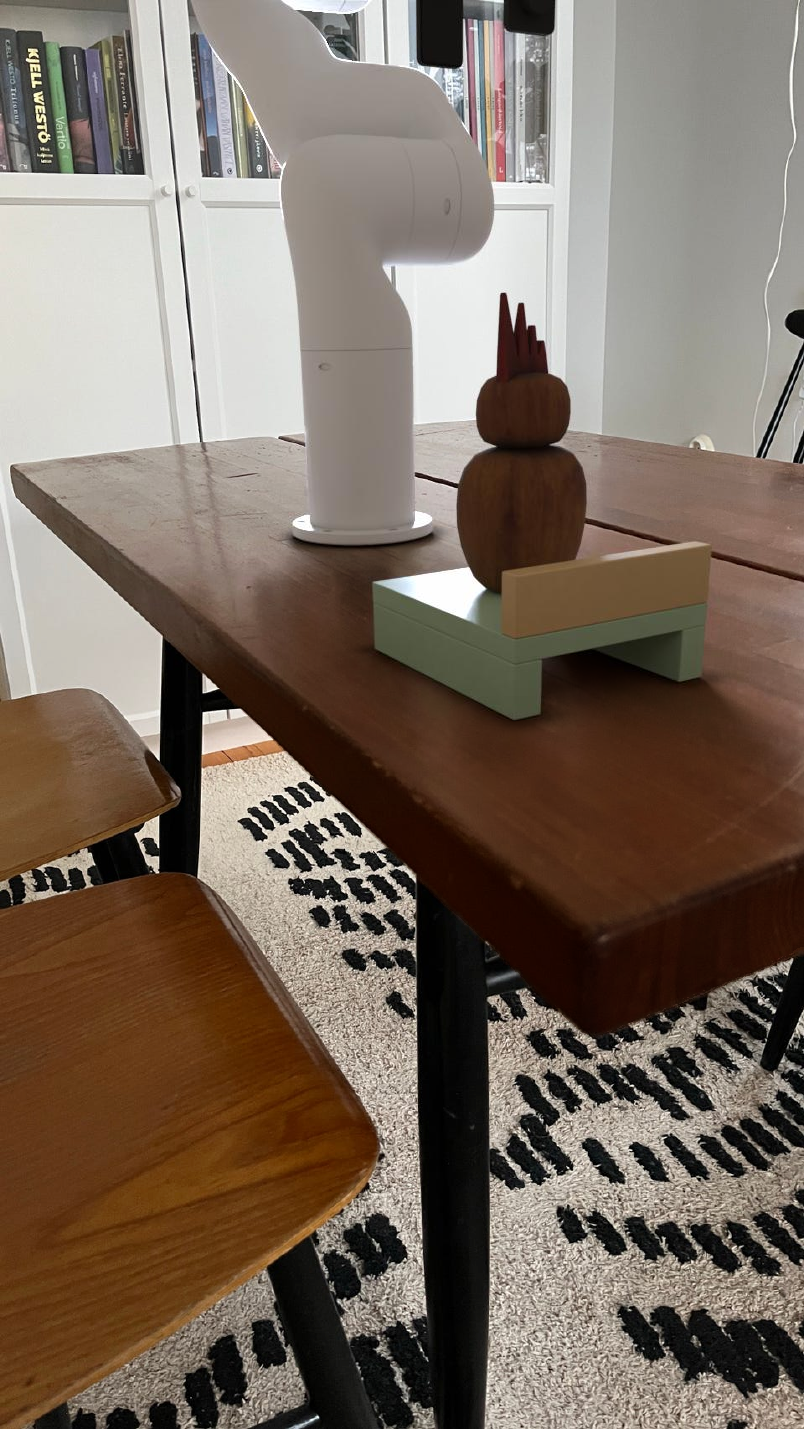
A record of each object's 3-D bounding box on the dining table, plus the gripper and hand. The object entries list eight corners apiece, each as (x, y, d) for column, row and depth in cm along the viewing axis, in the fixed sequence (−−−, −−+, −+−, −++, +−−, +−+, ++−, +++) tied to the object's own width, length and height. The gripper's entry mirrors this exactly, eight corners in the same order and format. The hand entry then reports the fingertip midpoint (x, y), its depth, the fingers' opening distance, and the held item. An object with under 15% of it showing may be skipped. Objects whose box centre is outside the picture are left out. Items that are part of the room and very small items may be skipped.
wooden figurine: (496, 607, 54) (498, 291, 49) (440, 584, 59) (437, 295, 54) (603, 589, 57) (616, 290, 52) (541, 570, 62) (548, 294, 56)
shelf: (374, 649, 61) (370, 529, 59) (541, 618, 67) (544, 507, 64) (513, 721, 50) (516, 575, 47) (701, 677, 55) (712, 544, 53)
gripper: (352, -256, 63) (361, 73, 69) (520, -421, 49) (512, 10, 55) (458, -229, 67) (458, 82, 73) (644, -376, 53) (623, 25, 59)
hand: (481, 51), depth 64 cm, fingers open, 9 cm apart
